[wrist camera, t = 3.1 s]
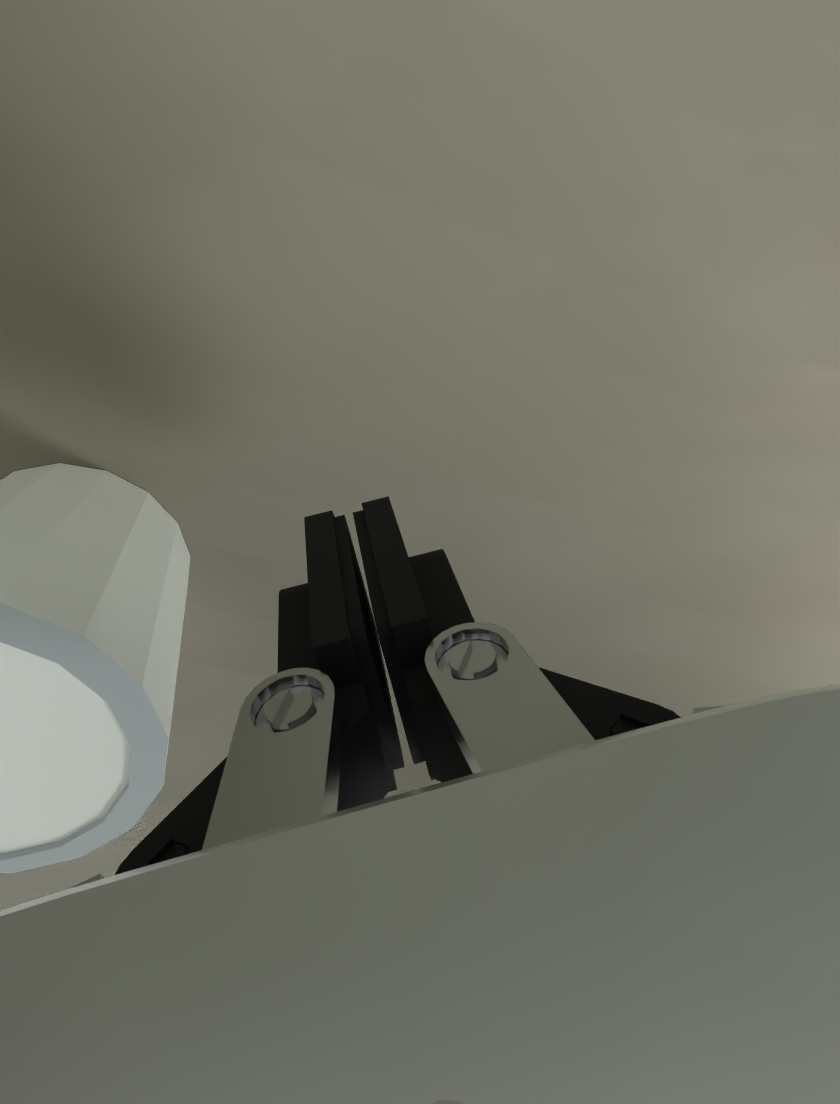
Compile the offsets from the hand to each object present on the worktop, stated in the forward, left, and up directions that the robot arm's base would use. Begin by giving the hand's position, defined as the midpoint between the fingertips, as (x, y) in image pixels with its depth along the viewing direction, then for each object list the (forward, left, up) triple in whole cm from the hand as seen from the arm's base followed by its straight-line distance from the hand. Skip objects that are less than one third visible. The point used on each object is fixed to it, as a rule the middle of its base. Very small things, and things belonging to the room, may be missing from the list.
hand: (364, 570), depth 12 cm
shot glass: (+8, +1, -6) cm, 9 cm away
